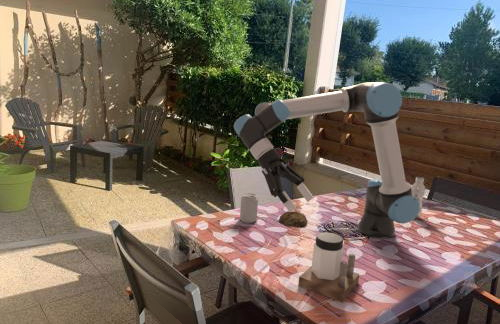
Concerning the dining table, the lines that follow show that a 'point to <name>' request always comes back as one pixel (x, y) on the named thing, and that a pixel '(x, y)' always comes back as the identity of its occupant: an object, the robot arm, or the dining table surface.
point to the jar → (327, 256)
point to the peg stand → (332, 281)
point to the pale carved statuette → (418, 192)
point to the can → (249, 208)
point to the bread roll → (293, 219)
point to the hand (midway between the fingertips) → (302, 204)
